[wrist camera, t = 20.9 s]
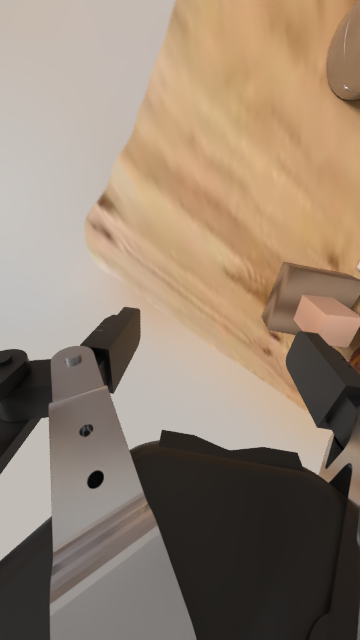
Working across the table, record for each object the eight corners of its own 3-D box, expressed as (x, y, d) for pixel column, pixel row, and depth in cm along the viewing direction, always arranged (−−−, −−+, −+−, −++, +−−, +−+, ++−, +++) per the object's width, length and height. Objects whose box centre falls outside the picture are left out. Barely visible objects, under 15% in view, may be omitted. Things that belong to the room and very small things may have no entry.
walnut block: (283, 261, 39) (294, 269, 33) (345, 273, 38) (367, 283, 33) (261, 315, 45) (268, 329, 39) (315, 326, 44) (329, 341, 39)
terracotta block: (302, 294, 35) (326, 314, 28) (332, 297, 35) (363, 318, 28) (293, 319, 38) (312, 343, 31) (321, 322, 37) (347, 347, 30)
